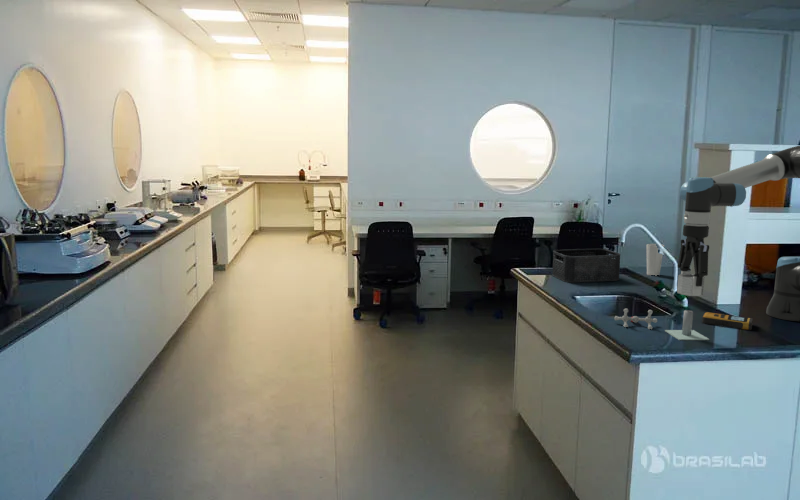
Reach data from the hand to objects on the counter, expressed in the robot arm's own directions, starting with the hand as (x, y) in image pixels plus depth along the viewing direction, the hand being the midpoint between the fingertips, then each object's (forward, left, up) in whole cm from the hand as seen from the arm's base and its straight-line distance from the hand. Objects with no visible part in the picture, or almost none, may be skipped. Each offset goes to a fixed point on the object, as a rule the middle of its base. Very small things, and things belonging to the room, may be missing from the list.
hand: (690, 292), depth 194 cm
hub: (0, 0, 0) cm, 0 cm away
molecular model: (+12, -12, -15) cm, 23 cm away
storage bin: (+3, -94, -15) cm, 95 cm away
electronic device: (-22, -14, -15) cm, 30 cm away
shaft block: (0, 0, -15) cm, 15 cm away
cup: (-35, -102, -15) cm, 109 cm away
